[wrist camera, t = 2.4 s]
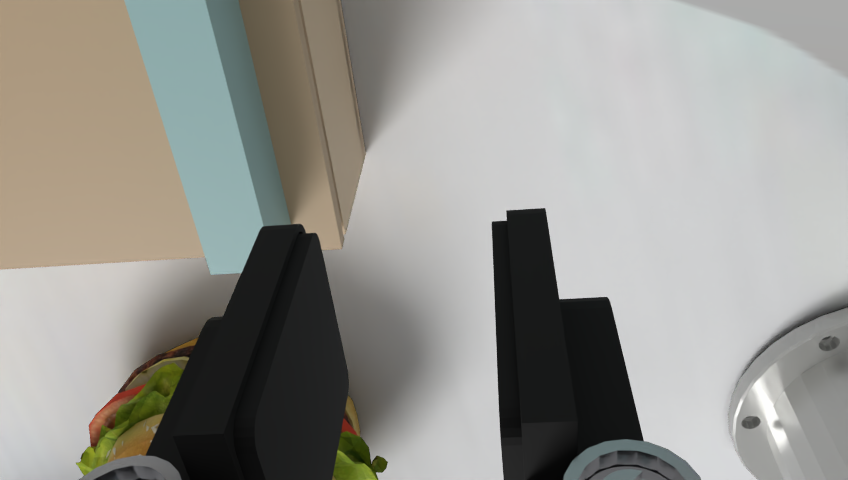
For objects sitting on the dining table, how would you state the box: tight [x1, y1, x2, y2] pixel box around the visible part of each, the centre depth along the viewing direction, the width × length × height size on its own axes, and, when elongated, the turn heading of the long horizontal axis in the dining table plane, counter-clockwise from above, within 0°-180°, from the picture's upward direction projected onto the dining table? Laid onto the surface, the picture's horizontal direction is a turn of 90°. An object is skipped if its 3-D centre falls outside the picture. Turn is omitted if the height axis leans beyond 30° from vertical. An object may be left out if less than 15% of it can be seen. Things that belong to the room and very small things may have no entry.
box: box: [298, 0, 366, 234], centre depth 26 cm, size 22×14×6 cm, turn 96°
